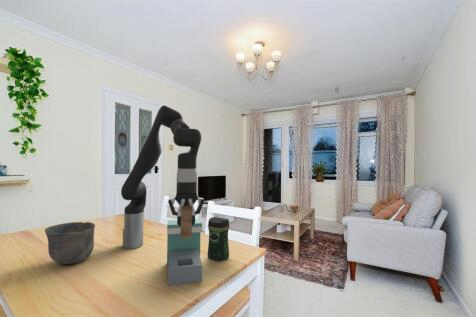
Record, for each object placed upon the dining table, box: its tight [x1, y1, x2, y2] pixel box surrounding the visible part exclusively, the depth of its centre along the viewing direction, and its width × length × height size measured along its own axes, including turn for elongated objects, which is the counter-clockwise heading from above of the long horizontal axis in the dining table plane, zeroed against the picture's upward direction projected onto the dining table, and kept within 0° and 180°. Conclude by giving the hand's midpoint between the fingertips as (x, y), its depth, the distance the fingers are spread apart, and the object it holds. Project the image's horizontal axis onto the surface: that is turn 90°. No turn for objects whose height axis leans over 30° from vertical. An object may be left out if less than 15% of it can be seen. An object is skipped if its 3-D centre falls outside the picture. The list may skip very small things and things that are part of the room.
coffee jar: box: [207, 216, 230, 263], centre depth 105 cm, size 10×8×19 cm
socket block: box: [167, 249, 203, 286], centre depth 90 cm, size 12×16×6 cm
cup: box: [44, 221, 96, 265], centre depth 99 cm, size 18×18×15 cm
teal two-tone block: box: [166, 218, 203, 266], centre depth 97 cm, size 14×8×18 cm, turn 105°
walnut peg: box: [180, 205, 192, 239], centre depth 87 cm, size 4×4×12 cm
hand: (186, 225), depth 87 cm, fingers closed on walnut peg, 4 cm apart
